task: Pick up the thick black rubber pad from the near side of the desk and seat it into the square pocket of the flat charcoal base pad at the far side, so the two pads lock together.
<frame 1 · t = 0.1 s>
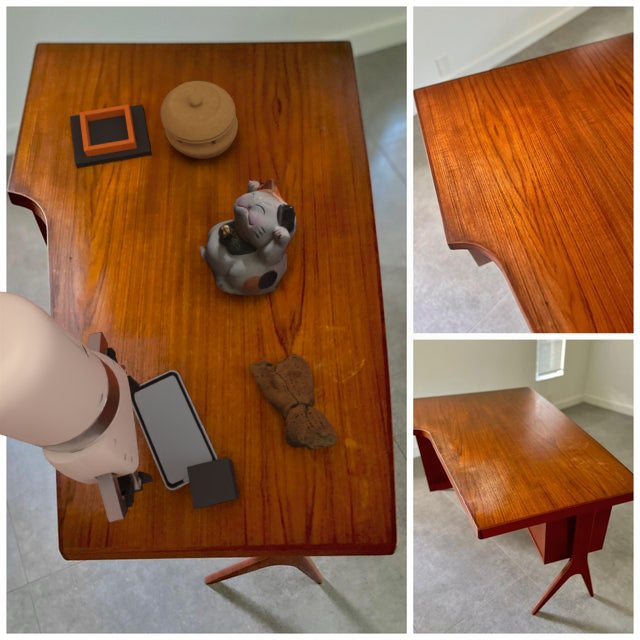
hand: (131, 435, 55), 16 cm above the table, tool pointing down, fingers open, 9 cm apart
pot: (205, 141, 90), on the table
black pad: (216, 483, 69), on the table, touching smartphone
lucky cat figurine: (250, 255, 82), on the table
base pad: (111, 137, 89), on the table
sculpture: (290, 409, 74), on the table
smartphone: (173, 428, 72), on the table, touching black pad
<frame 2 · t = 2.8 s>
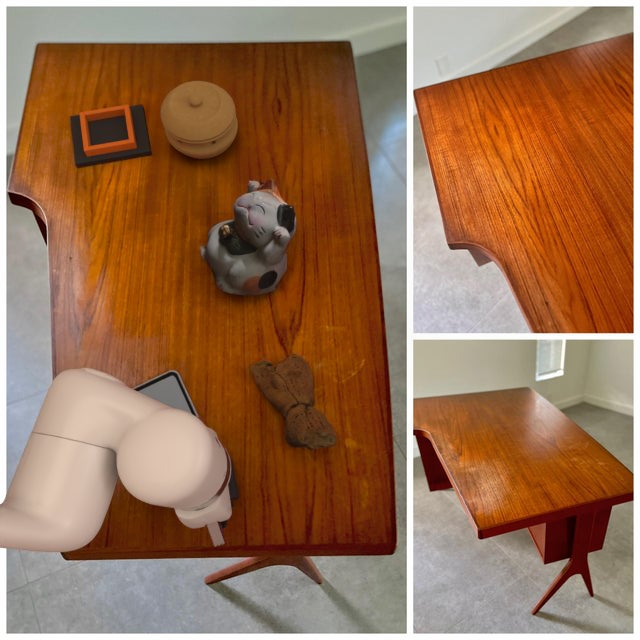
hand: (217, 483, 69), 1 cm above the table, tool pointing down, fingers closed on black pad, 5 cm apart
black pad: (217, 483, 69), on the table, touching gripper, smartphone
everything else where it was.
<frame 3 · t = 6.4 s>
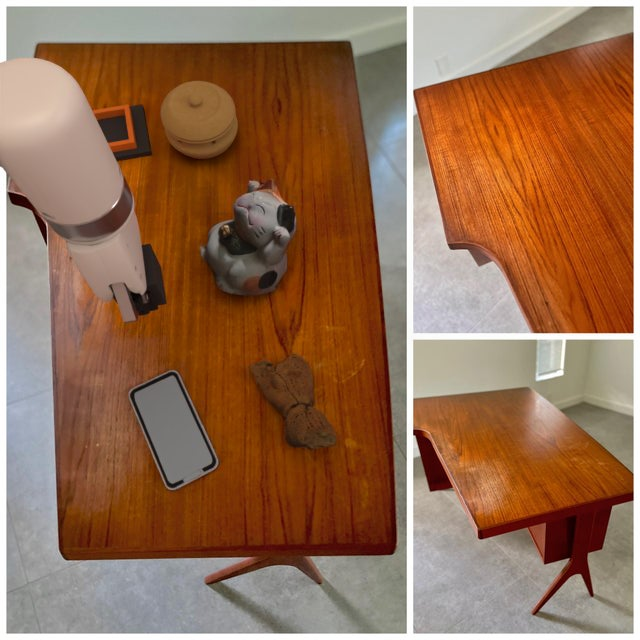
hand: (141, 286, 63), 15 cm above the table, tool pointing down, fingers closed on black pad, 5 cm apart
black pad: (142, 289, 63), point 15 cm above the table, touching gripper
smartphone: (173, 428, 72), on the table
everything else where it was.
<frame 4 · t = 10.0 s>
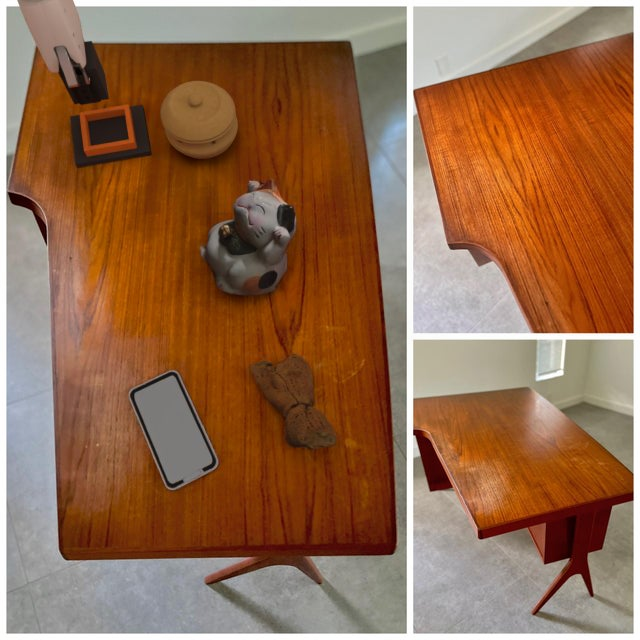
hand: (88, 85, 79), 11 cm above the table, tool pointing down, fingers closed on black pad, 5 cm apart
black pad: (89, 88, 79), point 10 cm above the table, touching gripper
everything else where it was.
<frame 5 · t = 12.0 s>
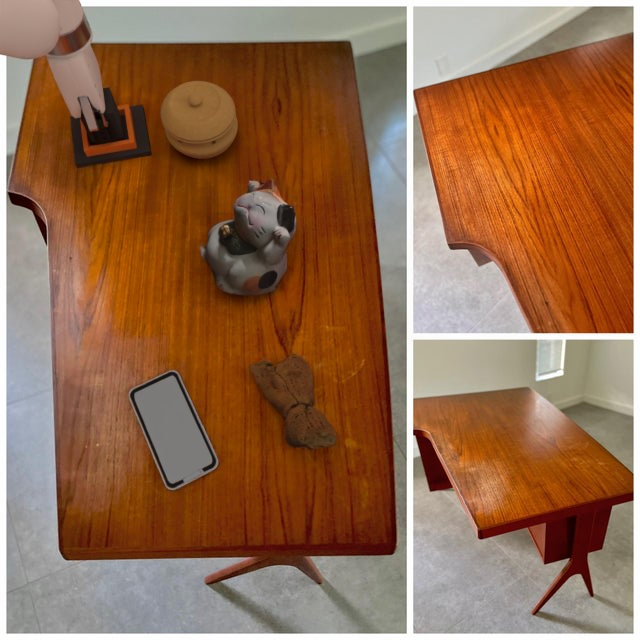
hand: (105, 126, 86), 3 cm above the table, tool pointing down, fingers closed on black pad, 5 cm apart
black pad: (106, 128, 87), point 2 cm above the table, touching gripper
everything else where it was.
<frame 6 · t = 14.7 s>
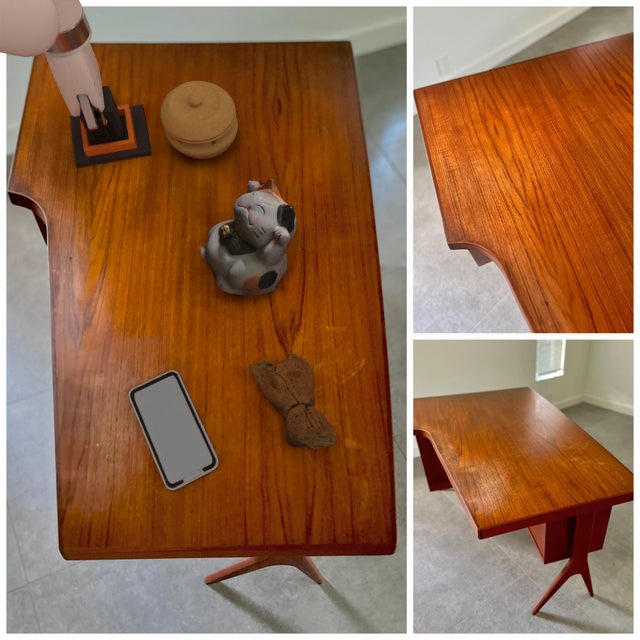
hand: (104, 124, 86), 3 cm above the table, tool pointing down, fingers closed on black pad, 5 cm apart
black pad: (105, 127, 87), point 3 cm above the table, touching gripper
everything else where it was.
when the fingers open (3 cm above the table, at t = 17.3 s): black pad drops 2 cm, resting on base pad.
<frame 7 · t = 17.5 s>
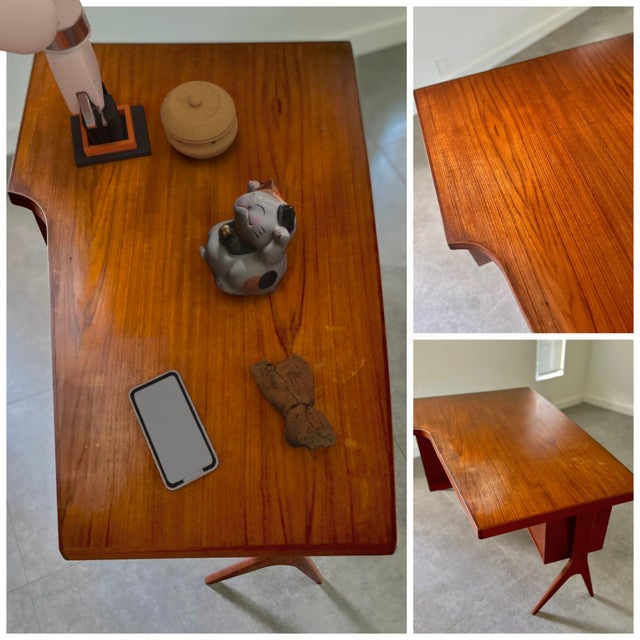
hand: (103, 120, 85), 4 cm above the table, tool pointing down, fingers open, 7 cm apart
black pad: (109, 135, 88), point 1 cm above the table, touching base pad
everything else where it was.
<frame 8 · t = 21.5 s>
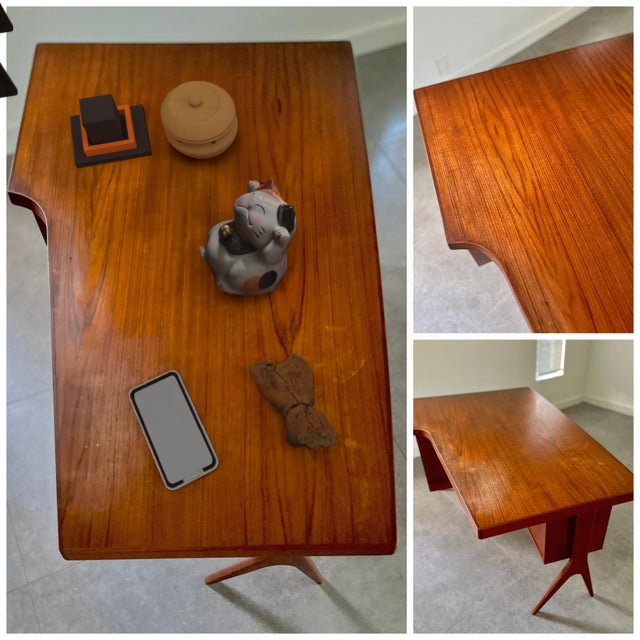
hand: (2, 62, 60), 26 cm above the table, tool pointing down, fingers open, 9 cm apart
nothing on the table moved.
at the end: black pad 0.4 cm off-centre on the base pad, point 1.0 cm above the base pad's base; black pad tilted 0° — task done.
